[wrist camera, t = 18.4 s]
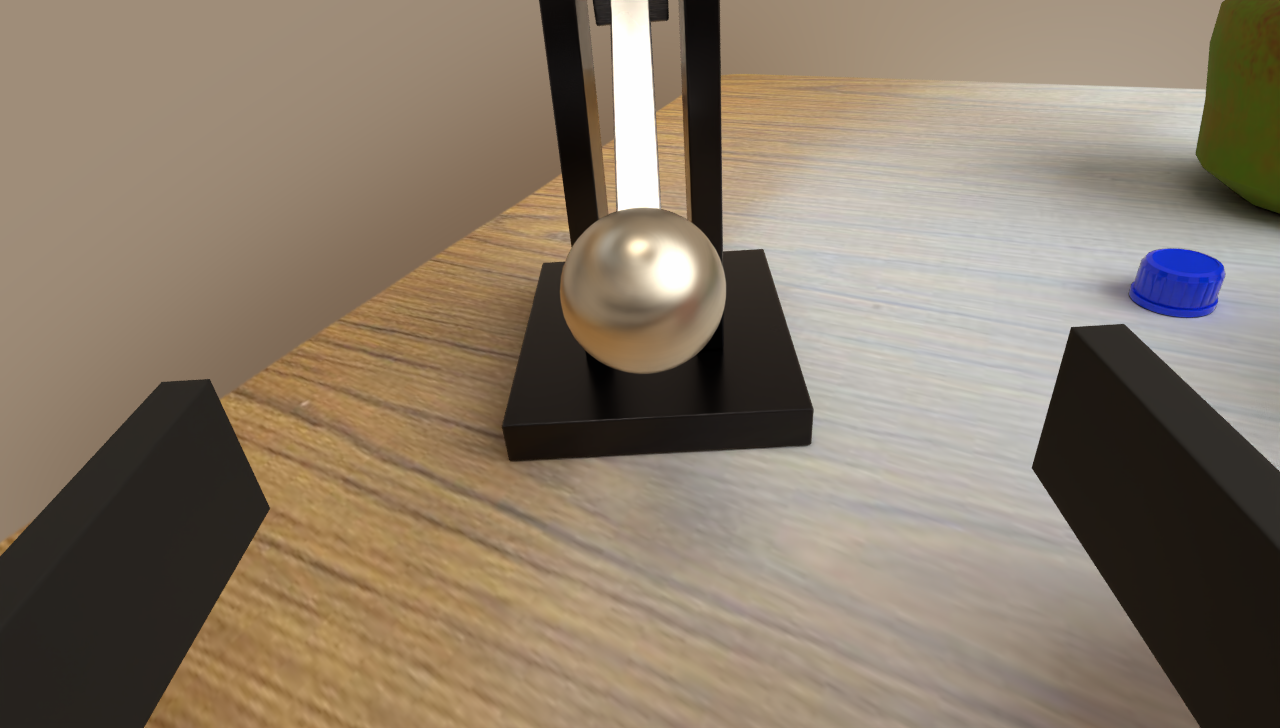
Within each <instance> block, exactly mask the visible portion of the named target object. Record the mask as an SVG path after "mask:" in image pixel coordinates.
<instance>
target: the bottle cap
mask: <svg viewBox="0 0 1280 728" xmlns="http://www.w3.org/2000/svg"><path fill="white" fill-rule="evenodd" d="M1224 278H1225V271H1224V266H1223V265H1222V263H1221V262H1219V261H1218V260H1217V259H1215V258H1213V257H1211V256H1209V255H1206V254H1203V253H1200V252H1196V251H1191V250H1185V249H1174V248H1167V249H1158V250H1154V251H1152V252H1149V253H1148V254H1147V255H1146V256H1145V257H1144V258H1143V259H1142V260H1141V263H1140V266H1139V269H1138V272H1137V275H1136V278H1135V281H1134V282H1133V283H1132V284H1131V287H1130V289H1129V296H1130V298H1131V299H1132V300H1133V301H1134V302H1135V303H1136V304H1138V305H1140V306H1142V307H1143V308H1146V309H1148V310H1151V311H1153V312H1157V313H1160V314H1164V315H1169V316H1175V317H1200V316H1205V315H1208V314H1210V313H1212V312H1213V311H1214V310H1215V308H1216V306H1217V303H1218V294H1219V291H1220V289H1221V286H1222V283H1223V281H1224Z"/></svg>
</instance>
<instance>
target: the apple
mask: <svg viewBox="0 0 1280 728" xmlns="http://www.w3.org/2000/svg"><path fill="white" fill-rule="evenodd" d="M1209 50H1210V51H1209V61H1208V73H1207V86H1206V98H1205V104H1204V110H1203V115H1202V121H1201V126H1200V132H1199V137H1198V143H1197V148H1196V156H1197V158H1198V160H1199V161H1200V163H1201V165H1202V167H1203V168H1204V169H1205V170H1207V171H1208V172H1209V173H1211V174H1212V175H1213V176H1215V177H1216V178H1217V179H1219V180H1220V181H1221V182H1222V183H1224V184H1225V185H1226V186H1228V187H1229V188H1230V189H1232V190H1233V191H1234V192H1236V193H1237V194H1238V195H1240V196H1241V197H1243V198H1244V199H1245V200H1247V201H1248V202H1250V203H1251V204H1253V205H1255V206H1258V207H1261V208H1264V209H1267V210H1270V211H1273V212H1276V213H1279V214H1280V0H1225V1H1224V2H1222V4H1221V7H1220V10H1219V14H1218V17H1217V21H1216V24H1215V28H1214V31H1213V34H1212V37H1211V41H1210V48H1209Z"/></svg>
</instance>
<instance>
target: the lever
mask: <svg viewBox="0 0 1280 728" xmlns="http://www.w3.org/2000/svg"><path fill="white" fill-rule="evenodd" d="M593 6H594V12H595V19H596V24H597V26H606V25H611V53H612V84H613V117H614V149H615V180H616V212H614V213H611V214H609V215H607V216H605V217H603V218H601V219H599V220H598V221H596V222H595V223H593V224H592V225H591V226H590V227H589V228H587V229H586V230H585V232H584V233H583V234H582V235H581V236H580V237H579V238H578V239H577V241H576V242H575V243H574V245H573V246H572V248H571V250H570V252H569V254H568V256H567V258H566V261H565V264H564V266H563V270H562V275H561V283H560V299H561V305H562V310H563V314H564V318H565V320H566V323H567V325H568V327H569V329H570V331H571V332H572V334H573V336H574V338H575V339H576V340H577V342H578V343H579V344H580V345H581V346H582V347H583V348H584V349H585V350H586V351H587V352H588V353H589V354H590V355H591V356H592V357H594V358H595V359H596V360H598V361H599V362H601V363H603V364H605V365H607V366H609V367H611V368H614V369H616V370H620V371H624V372H628V373H636V374H651V373H658V372H662V371H666V370H669V369H672V368H675V367H677V366H679V365H681V364H683V363H685V362H687V361H688V360H690V359H691V358H692V357H694V356H695V355H696V354H697V353H699V352H700V351H701V350H702V349H703V348H704V347H705V345H706V344H707V343H708V342H709V341H710V339H711V338H712V336H713V334H714V333H715V331H716V330H717V328H718V325H719V323H720V321H721V318H722V314H723V311H724V307H725V300H726V280H725V274H724V270H723V267H722V263H721V260H720V258H719V256H718V253H717V251H716V249H715V248H714V246H713V245H712V243H711V242H710V240H709V239H708V238H707V237H706V235H705V234H704V233H703V232H702V231H701V230H700V229H699V228H698V227H696V226H695V225H694V224H693V223H691V222H690V221H688V220H687V219H685V218H683V217H682V216H679V215H677V214H675V213H673V212H670V211H667V210H663V209H661V196H660V179H659V161H658V144H657V126H656V109H655V92H654V73H653V55H652V39H651V22H659V21H667V20H668V18H669V14H668V13H669V12H668V0H593Z"/></svg>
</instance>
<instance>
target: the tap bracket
mask: <svg viewBox="0 0 1280 728" xmlns="http://www.w3.org/2000/svg"><path fill="white" fill-rule="evenodd" d="M539 3H540V11H541V19H542V25H543V34H544V42H545V49H546V57H547V64H548V72H549V80H550V86H551V95H552V102H553V110H554V118H555V125H556V133H557V140H558V148H559V155H560V163H561V171H562V178H563V186H564V194H565V201H566V209H567V216H568V224H569V232H570V239H571V247H572V246H573V245H574V243H575V242H576V241H577V239H578V238H579V237H580V236H581V235H582V234H583V233H584V232H585V230H586V229H587V228H589V227H590V226H591V225H592V224H593V223H595V222H596V221H598V220H599V219H601V218H603V217H605V216H607V215H608V205H607V195H606V185H605V175H604V165H603V155H602V145H601V136H600V125H599V116H598V105H597V95H596V85H595V76H594V65H593V55H592V45H591V35H590V26H589V15H588V5H587V0H539ZM679 25H680V49H681V74H682V75H681V76H682V101H683V127H684V152H685V178H686V203H687V220H688V221H690V222H691V223H693V224H694V225H695V226H696V227H698V228H699V229H700V230H701V231H702V232H703V233H704V234H705V235H706V237H707V238H708V239H709V240H710V242H711V243H712V245H713V246H714V248H715V249H716V251H717V253H718V256H719V258H720V260H721V263H722V267H723V270H724V274H725V280H726V300H725V307H724V311H723V314H722V318H721V321H720V323H719V325H718V328H717V330H716V331H715V333H714V334H713V336H712V338H711V339H710V341H709V342H708V343H707V344H706V345H705V347H704V348H703V349H702V350H701V351H700V352H699V353H697V354H696V355H695V356H694V357H692V358H691V359H690V360H688V361H687V362H685V363H683V364H681V365H679V366H677V367H675V368H672V369H669V370H666V371H662V372H658V373H651V374H636V373H628V372H624V371H620V370H616V369H614V368H611V367H609V366H607V365H605V364H603V363H601V362H599V361H598V360H596V359H595V358H594V357H592V356H591V355H590V354H589V353H588V352H587V351H586V350H585V349H584V348H583V347H582V346H581V345H580V344H579V343H578V342H577V340H576V339H575V338H574V336H573V334H572V332H571V331H570V329H569V327H568V325H567V323H566V320H565V318H564V314H563V310H562V305H561V299H560V283H561V275H562V270H563V266H564V264H565V262H552V263H543V265H542V269H541V273H540V277H539V281H538V285H537V289H536V293H535V297H534V301H533V305H532V309H531V313H530V317H529V321H528V324H527V328H526V332H525V336H524V340H523V344H522V348H521V352H520V356H519V360H518V364H517V368H516V372H515V376H514V380H513V384H512V388H511V392H510V396H509V400H508V404H507V408H506V412H505V416H504V420H503V424H502V429H503V434H504V439H505V443H506V448H507V452H508V457H509V460H530V459H549V458H568V457H587V456H606V455H625V454H644V453H663V452H682V451H701V450H720V449H739V448H758V447H777V446H796V445H810V444H811V439H812V425H813V410H814V409H813V406H812V403H811V400H810V396H809V393H808V390H807V387H806V384H805V381H804V377H803V374H802V371H801V368H800V365H799V361H798V358H797V355H796V352H795V349H794V345H793V342H792V339H791V336H790V333H789V329H788V326H787V323H786V320H785V317H784V313H783V310H782V307H781V304H780V301H779V298H778V294H777V291H776V288H775V285H774V282H773V278H772V275H771V272H770V269H769V266H768V262H767V259H766V256H765V253H764V250H763V249H757V250H741V251H725V252H723V227H722V144H721V64H720V63H721V61H720V0H679Z"/></svg>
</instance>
